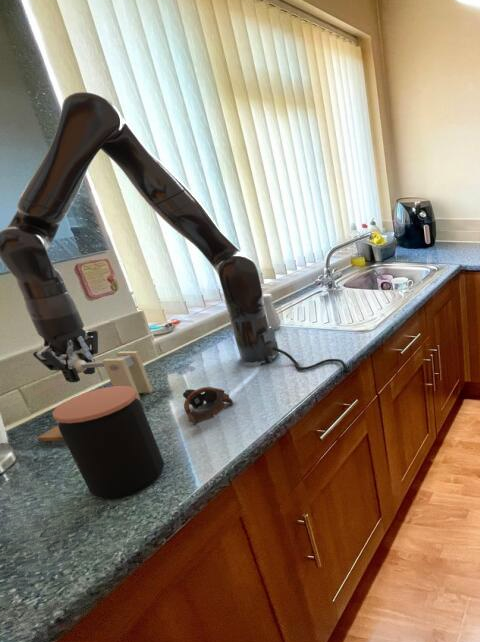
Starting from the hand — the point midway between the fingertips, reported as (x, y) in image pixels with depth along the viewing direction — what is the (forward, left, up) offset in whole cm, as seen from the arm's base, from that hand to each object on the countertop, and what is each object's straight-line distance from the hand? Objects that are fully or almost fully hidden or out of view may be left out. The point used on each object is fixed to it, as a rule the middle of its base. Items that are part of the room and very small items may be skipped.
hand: (82, 377), depth 100 cm
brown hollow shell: (-33, +7, -7) cm, 34 cm away
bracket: (-11, 0, -7) cm, 13 cm away
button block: (-10, +13, -7) cm, 18 cm away
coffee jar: (-32, +29, -7) cm, 44 cm away
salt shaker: (-22, -47, -7) cm, 52 cm away
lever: (-5, 0, +2) cm, 6 cm away
